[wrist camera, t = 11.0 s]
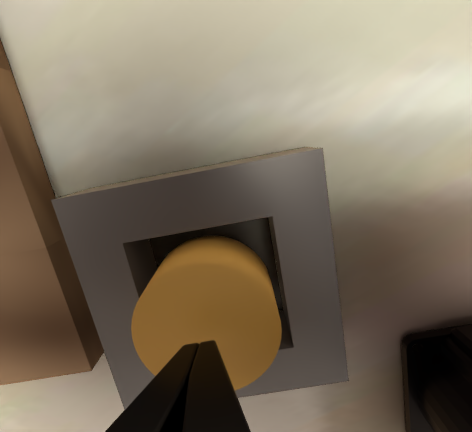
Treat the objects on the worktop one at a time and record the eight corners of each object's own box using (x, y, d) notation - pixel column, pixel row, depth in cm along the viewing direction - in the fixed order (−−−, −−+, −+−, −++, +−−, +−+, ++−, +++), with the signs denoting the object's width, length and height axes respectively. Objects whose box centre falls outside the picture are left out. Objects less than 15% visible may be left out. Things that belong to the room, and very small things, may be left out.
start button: (279, 331, 11) (291, 383, 9) (170, 349, 12) (152, 404, 9) (261, 225, 10) (268, 251, 8) (141, 246, 10) (112, 278, 8)
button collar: (329, 338, 14) (348, 381, 11) (145, 367, 14) (126, 414, 12) (304, 147, 12) (322, 148, 9) (88, 188, 12) (51, 199, 10)
